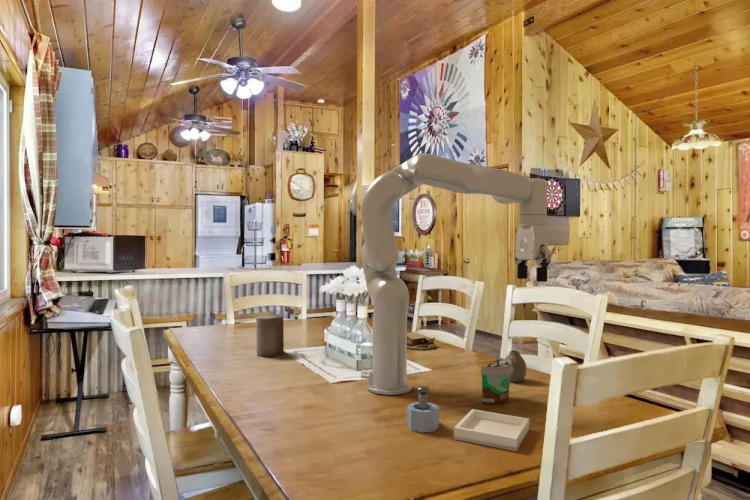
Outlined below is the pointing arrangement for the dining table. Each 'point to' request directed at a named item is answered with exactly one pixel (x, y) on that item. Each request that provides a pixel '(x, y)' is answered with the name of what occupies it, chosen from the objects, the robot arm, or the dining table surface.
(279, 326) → the pillar candle
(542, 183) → the robot arm
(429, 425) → the ring
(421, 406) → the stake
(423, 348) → the toy sandwich meal
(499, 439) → the tray
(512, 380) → the vase
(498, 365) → the food container
